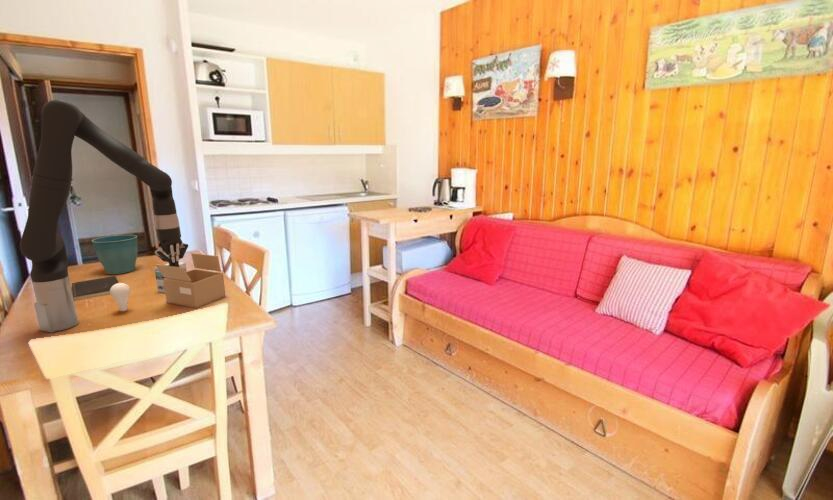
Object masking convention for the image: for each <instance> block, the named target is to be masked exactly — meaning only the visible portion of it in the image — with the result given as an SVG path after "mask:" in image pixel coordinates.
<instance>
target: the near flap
mask: <svg viewBox="0 0 833 500" xmlns="http://www.w3.org/2000/svg"><path fill="white" fill-rule="evenodd" d="M154 266H155V268H156V267H157V268H158V270H159V271H160V272H161V274H162V275H163V277H166V278H172V279H178V280H184V281H191V279H190V278H189V276H188V275H187V273H186V272H185V270H184V269H183V268H182V267H175V266H168V265H165V264H159V263H155V264H154Z"/></svg>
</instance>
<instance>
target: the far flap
mask: <svg viewBox="0 0 833 500" xmlns="http://www.w3.org/2000/svg"><path fill="white" fill-rule="evenodd" d="M191 258H192V263H193V266H194V269H198V270H205V271H212V272H222V270H221V264H220V259H219V256H218V255H213V254H211V255H210V254H205V253H196V252H191Z"/></svg>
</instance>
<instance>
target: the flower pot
mask: <svg viewBox="0 0 833 500" xmlns="http://www.w3.org/2000/svg"><path fill="white" fill-rule="evenodd" d="M91 243H92V245H93V248H94V251H95V254H96V257H97V259H98V261H99V262H100V264H101V265H102V267H103V268H104V271H105V273H106V274H107V275H119V274H120V275H121V274H127V273H130V272H133V271H135V270H136V264H137V263H136V262H137V258H138V253H139V252H138V235H135V234H119V235H115V234H114V235H109V236H108V235H107V236H103V237H102V236H101V237H98V238H94V239H92V240H91Z"/></svg>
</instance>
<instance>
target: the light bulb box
mask: <svg viewBox="0 0 833 500" xmlns="http://www.w3.org/2000/svg"><path fill="white" fill-rule="evenodd" d="M178 262H179V261H178ZM164 265H168V266H169V262H167V263H166V264H164ZM186 265H187V264H186V262H182V261H181V262H179V267H182V268H183V269H184V270H185V272H187V266H186ZM154 273H155V274H154V275H155V281H156V286H157V287H156V288H157V292H158V293H165V288H164V282H163V279H164V278H166V277H163V275H162V274H161V272H160V271H159V270H158V268H157V267H156V266H155V267H154Z"/></svg>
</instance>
